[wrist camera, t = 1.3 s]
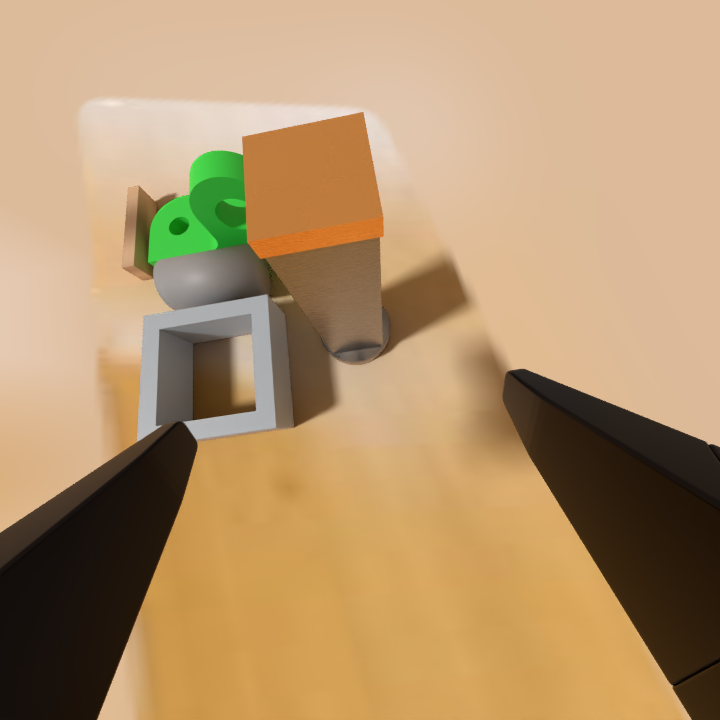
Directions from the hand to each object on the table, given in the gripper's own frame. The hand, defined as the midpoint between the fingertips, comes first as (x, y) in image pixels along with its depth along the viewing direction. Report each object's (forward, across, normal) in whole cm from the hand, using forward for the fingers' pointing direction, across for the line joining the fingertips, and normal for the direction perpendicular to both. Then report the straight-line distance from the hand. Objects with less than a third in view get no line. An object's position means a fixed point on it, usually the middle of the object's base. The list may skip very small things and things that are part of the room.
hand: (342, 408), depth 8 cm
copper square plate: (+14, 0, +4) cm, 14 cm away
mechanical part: (+22, +10, -3) cm, 24 cm away
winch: (+14, +10, +4) cm, 18 cm away
